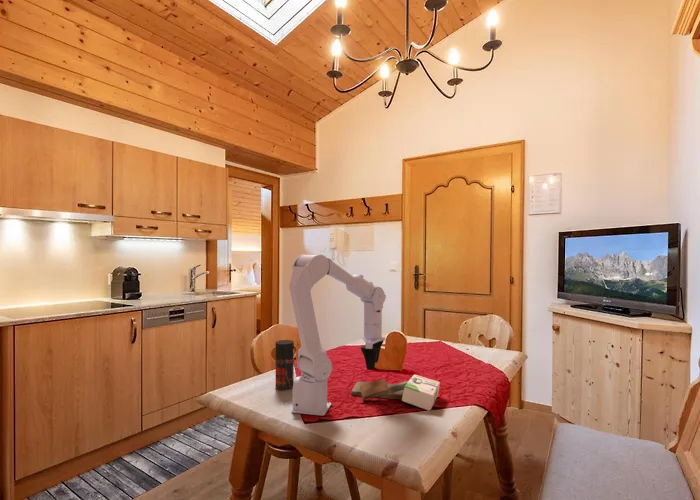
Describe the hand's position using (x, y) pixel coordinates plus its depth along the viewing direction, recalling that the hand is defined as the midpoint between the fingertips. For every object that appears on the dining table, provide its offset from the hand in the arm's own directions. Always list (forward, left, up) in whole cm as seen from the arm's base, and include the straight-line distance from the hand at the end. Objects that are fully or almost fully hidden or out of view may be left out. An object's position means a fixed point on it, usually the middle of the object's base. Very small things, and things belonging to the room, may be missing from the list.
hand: (372, 365), depth 119 cm
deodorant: (-29, -3, -8) cm, 30 cm away
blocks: (+6, -6, -5) cm, 10 cm away
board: (+3, 0, -8) cm, 9 cm away
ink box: (+15, -10, -5) cm, 19 cm away
